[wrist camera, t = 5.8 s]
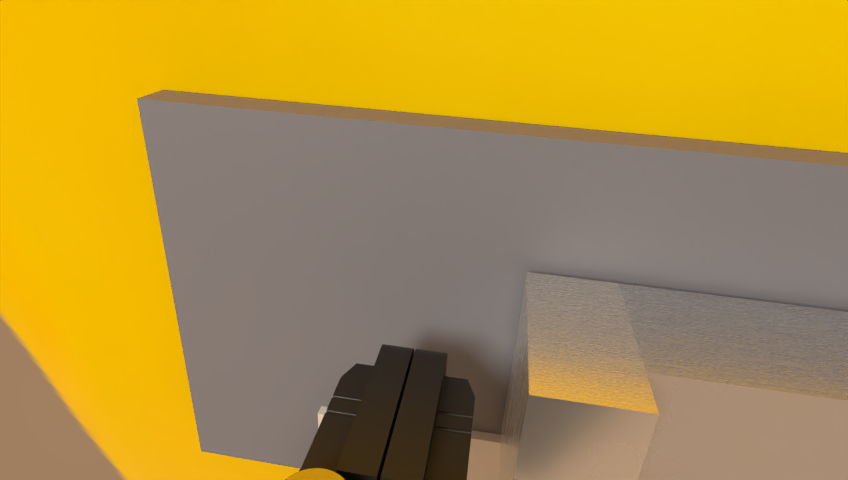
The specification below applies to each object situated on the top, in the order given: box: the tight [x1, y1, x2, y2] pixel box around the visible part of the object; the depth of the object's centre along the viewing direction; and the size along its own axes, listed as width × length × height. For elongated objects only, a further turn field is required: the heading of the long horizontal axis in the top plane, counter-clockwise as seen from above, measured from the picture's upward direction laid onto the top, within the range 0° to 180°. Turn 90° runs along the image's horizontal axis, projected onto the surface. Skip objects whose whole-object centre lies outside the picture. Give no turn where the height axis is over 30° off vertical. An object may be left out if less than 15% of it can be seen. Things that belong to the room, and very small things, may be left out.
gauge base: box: [137, 90, 848, 480], centre depth 11 cm, size 24×11×7 cm, turn 87°
